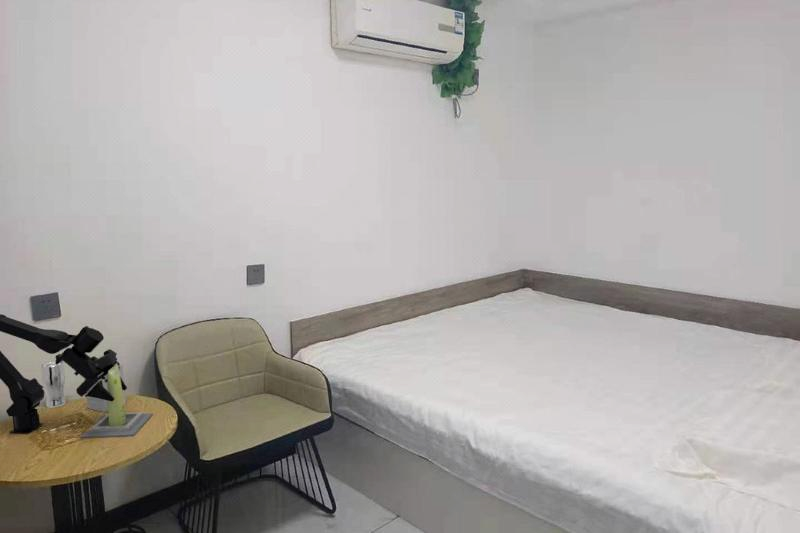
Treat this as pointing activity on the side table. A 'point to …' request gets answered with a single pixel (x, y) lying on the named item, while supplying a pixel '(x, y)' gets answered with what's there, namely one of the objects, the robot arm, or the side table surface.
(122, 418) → the tube
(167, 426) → the side table surface
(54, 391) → the beer glass
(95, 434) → the mat
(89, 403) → the supplement box
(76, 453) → the side table surface
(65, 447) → the side table surface
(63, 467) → the side table surface
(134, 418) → the collar
